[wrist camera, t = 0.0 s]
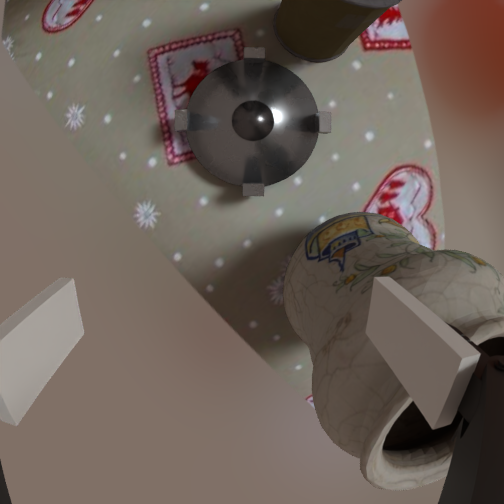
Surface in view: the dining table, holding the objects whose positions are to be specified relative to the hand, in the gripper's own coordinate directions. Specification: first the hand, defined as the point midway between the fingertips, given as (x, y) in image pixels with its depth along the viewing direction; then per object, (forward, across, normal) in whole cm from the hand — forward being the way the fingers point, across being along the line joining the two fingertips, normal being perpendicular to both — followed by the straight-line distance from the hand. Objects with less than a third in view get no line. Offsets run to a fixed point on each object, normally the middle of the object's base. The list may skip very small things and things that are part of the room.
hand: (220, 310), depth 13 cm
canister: (+28, +11, +25) cm, 39 cm away
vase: (+28, +15, -8) cm, 33 cm away
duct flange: (+28, +3, +11) cm, 30 cm away
